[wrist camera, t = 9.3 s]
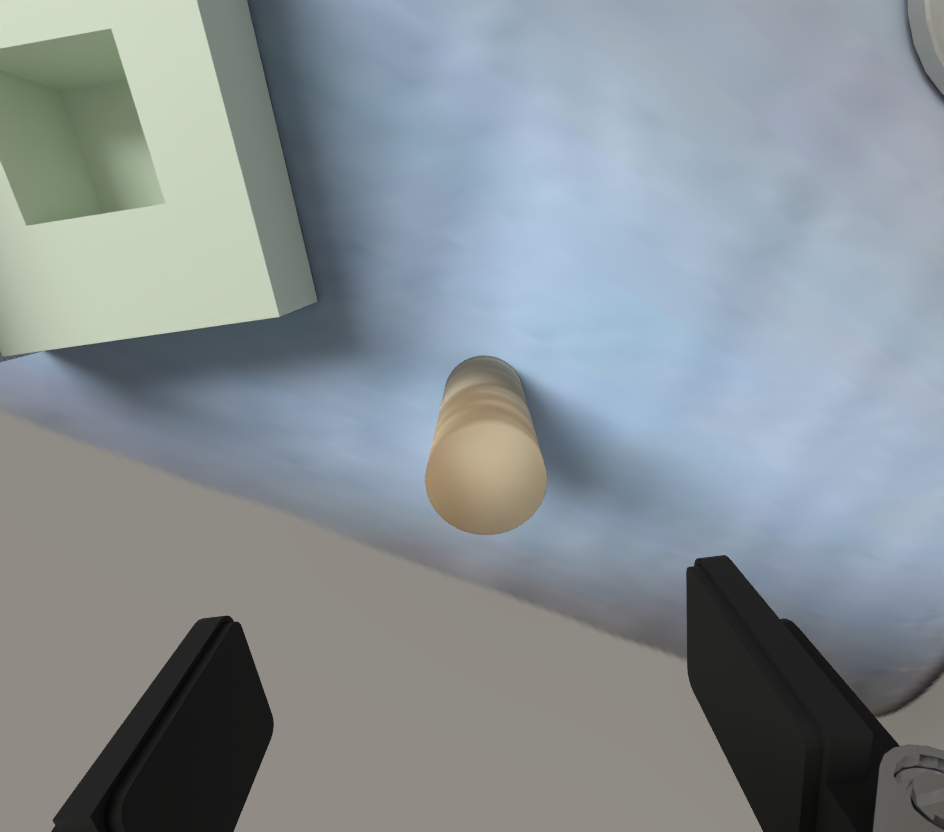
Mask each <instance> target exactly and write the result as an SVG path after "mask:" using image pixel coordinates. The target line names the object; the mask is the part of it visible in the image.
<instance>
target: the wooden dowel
mask: <svg viewBox="0 0 944 832" xmlns="http://www.w3.org/2000/svg"><path fill="white" fill-rule="evenodd" d="M425 484H426V491H427V495H428V498H429V500H430V502H431V504H432V506H433V508H434V509H435V511H436V512H437V513H438V514H439V515H440V516H441V517H442V518H443V519H444V520H445V521H446V522H448V523H449V524H450V525H452V526H454V527H456V528H457V529H460V530H462V531H465V532H468V533H472V534H478V535H494V534H500V533H504V532H507V531H510V530H512V529H515V528H516V527H518V526H520V525H522V524H523V523H524V522H526V521H527V520H528V519H529V518H530V517H531V516H532V515H533V514H534V513H535V512H536V511H537V509H538V508H539V506H540V504H541V503H542V500H543V498H544V495H545V492H546V486H547V473H546V468H545V464H544V461H543V457H542V454H541V450H540V447H539V443H538V440H537V436H536V433H535V429H534V426H533V422H532V419H531V415H530V412H529V408H528V405H527V401H526V398H525V394H524V391H523V387H522V384H521V381H520V378H519V376H518V374H517V373H516V371H515V370H514V369H513V368H512V367H511V366H510V365H509V364H508V363H506V362H505V361H503V360H501V359H498V358H495V357H491V356H477V357H472V358H469V359H467V360H465V361H463V362H462V363H460V364H459V365H458V366H457V367H455V369H454V370H453V371H452V372H451V374H450V375H449V377H448V379H447V382H446V386H445V390H444V394H443V399H442V403H441V408H440V412H439V416H438V421H437V425H436V429H435V434H434V438H433V443H432V447H431V451H430V456H429V460H428V465H427V469H426V475H425Z"/></svg>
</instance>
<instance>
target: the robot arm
mask: <svg viewBox="0 0 944 832" xmlns="http://www.w3.org/2000/svg"><path fill="white" fill-rule="evenodd" d="M908 17H909V22H910V27H911V32H912V37H913V42H914V46H915V48H916V51H917V53H918V55H919V58H920V60H921V62H922V65H923V67H924V69H925V72H926V73H927V74H928V76H929V77H930V78H931V80H932V81H933V82H934V84H935V85H936V86H937V88H938V89H939V90H940V92H941V93H942V94H943V95H944V0H908ZM686 579H687V669H688V676H689V681H690V684H691V687H692V689H693V692H694V694H695V696H696V698H697V700H698V702H699V704H700V706H701V708H702V710H703V712H704V714H705V716H706V718H707V720H708V722H709V724H710V726H711V728H712V730H713V732H714V734H715V736H716V738H717V740H718V742H719V744H720V746H721V748H722V750H723V752H724V754H725V756H726V758H727V760H728V762H729V764H730V766H731V768H732V770H733V772H734V774H735V776H736V778H737V780H738V782H739V784H740V786H741V788H742V790H743V792H744V794H745V796H746V798H747V800H748V802H749V804H750V806H751V808H752V810H753V812H754V814H755V816H756V818H757V820H758V822H759V824H760V826H761V828H762V830H763V832H944V751H942V750H938V749H935V748H932V747H929V746H920V745H904V746H899V745H898V743H897V742H896V741H895V740H894V739H893V738H892V736H891V735H890V734H889V733H888V732H887V731H886V729H885V728H884V727H883V726H882V725H881V724H880V722H879V721H878V720H877V719H876V718H875V717H874V715H873V714H872V713H871V712H870V711H869V710H868V708H867V707H866V706H865V705H864V704H863V703H862V701H861V700H860V699H859V698H858V697H857V696H856V694H855V693H854V692H853V691H852V690H851V689H850V687H849V686H848V685H847V684H846V683H845V682H844V680H843V679H842V678H841V677H840V676H839V675H838V673H837V672H836V671H835V670H834V669H833V668H832V666H831V665H830V664H829V663H828V662H827V661H826V659H825V658H824V657H823V656H822V655H821V654H820V652H819V651H818V650H817V649H816V648H815V646H814V645H813V644H812V643H811V642H810V641H809V639H808V638H807V637H806V636H805V635H804V634H803V632H802V631H801V630H800V629H799V628H798V627H797V626H796V625H795V624H794V623H793V622H792V621H790V620H788V619H779V618H778V617H777V615H776V614H775V613H774V612H773V611H772V609H771V608H770V607H769V606H768V604H767V603H766V602H765V601H764V600H763V598H762V597H761V596H760V595H759V594H758V592H757V591H756V590H755V589H754V588H753V586H752V585H751V584H750V583H749V581H748V580H747V579H746V578H745V577H744V575H743V574H742V573H741V572H740V571H739V569H738V568H737V567H736V566H735V564H734V563H733V562H732V561H731V560H730V559H729V558H728V557H727V556H725V555H722V556H714V557H706V558H698V559H696V560H695V563H694V566H693V567H688V568H687V573H686ZM273 724H274V723H273V717H272V713H271V710H270V707H269V704H268V701H267V698H266V696H265V693H264V690H263V687H262V684H261V681H260V678H259V675H258V672H257V670H256V667H255V664H254V661H253V658H252V655H251V652H250V649H249V646H248V643H247V641H246V638H245V635H244V632H243V629H242V627H241V624H240V623H239V622H234V621H233V619H232V618H231V617H230V616H220V617H211V618H203V619H201V620H198V621H197V622H196V623H195V624H194V626H193V627H192V629H191V630H190V631H189V633H188V634H187V635H186V637H185V638H184V640H183V641H182V642H181V644H180V645H179V646H178V648H177V649H176V651H175V652H174V653H173V655H172V656H171V658H170V659H169V660H168V662H167V663H166V664H165V666H164V667H163V668H162V670H161V671H160V673H159V674H158V675H157V677H156V678H155V680H154V681H153V682H152V684H151V685H150V686H149V688H148V689H147V691H146V692H145V693H144V695H143V696H142V697H141V699H140V700H139V702H138V703H137V704H136V706H135V707H134V708H133V710H132V711H131V713H130V714H129V715H128V717H127V718H126V720H125V721H124V722H123V724H122V725H121V726H120V728H119V729H118V730H117V732H116V733H115V735H114V736H113V737H112V739H111V740H110V742H109V743H108V744H107V746H106V747H105V748H104V750H103V751H102V753H101V754H100V755H99V757H98V758H97V760H96V761H95V762H94V764H93V765H92V766H91V768H90V769H89V770H88V772H87V773H86V775H85V776H84V777H83V779H82V780H81V782H80V783H79V784H78V786H77V787H76V788H75V790H74V791H73V793H72V794H71V795H70V797H69V798H68V799H67V801H66V802H65V804H64V805H63V806H62V808H61V809H60V810H59V812H58V813H57V815H56V816H55V817H54V819H53V822H54V824H55V825H56V826H55V827H54V828H53V830H52V832H233V831H234V829H235V827H236V824H237V822H238V819H239V817H240V814H241V811H242V809H243V807H244V804H245V802H246V799H247V797H248V794H249V792H250V789H251V787H252V784H253V782H254V779H255V777H256V774H257V772H258V770H259V767H260V764H261V762H262V759H263V757H264V755H265V752H266V750H267V747H268V745H269V742H270V740H271V736H272V733H273V726H274V725H273Z"/></svg>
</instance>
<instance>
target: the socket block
mask: <svg viewBox="0 0 944 832" xmlns="http://www.w3.org/2000/svg"><path fill="white" fill-rule="evenodd" d="M315 302H318V300H317V296H316V292H315V287H314V283H313V279H312V275H311V270H310V266H309V262H308V258H307V253H306V249H305V245H304V241H303V236H302V232H301V228H300V224H299V219H298V215H297V211H296V207H295V202H294V198H293V194H292V190H291V185H290V181H289V177H288V173H287V168H286V164H285V160H284V156H283V151H282V147H281V143H280V139H279V134H278V130H277V126H276V122H275V117H274V113H273V109H272V105H271V100H270V96H269V92H268V88H267V83H266V79H265V75H264V71H263V66H262V62H261V58H260V54H259V49H258V45H257V41H256V37H255V32H254V28H253V24H252V20H251V15H250V11H249V7H248V3H247V0H0V352H1V354H2V356H3V357H4V356H11V355H18V354H25V353H32V352H39V351H46V350H52V349H59V348H66V347H73V346H80V345H87V344H94V343H101V342H108V341H115V340H122V339H129V338H136V337H143V336H150V335H157V334H164V333H171V332H178V331H185V330H192V329H199V328H206V327H213V326H220V325H227V324H234V323H241V322H248V321H255V320H262V319H269V318H275V317H281V316H283V315H286V314H288V313H291V312H293V311H295V310H298V309H300V308H303V307H305V306H308V305H310V304H313V303H315Z"/></svg>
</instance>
